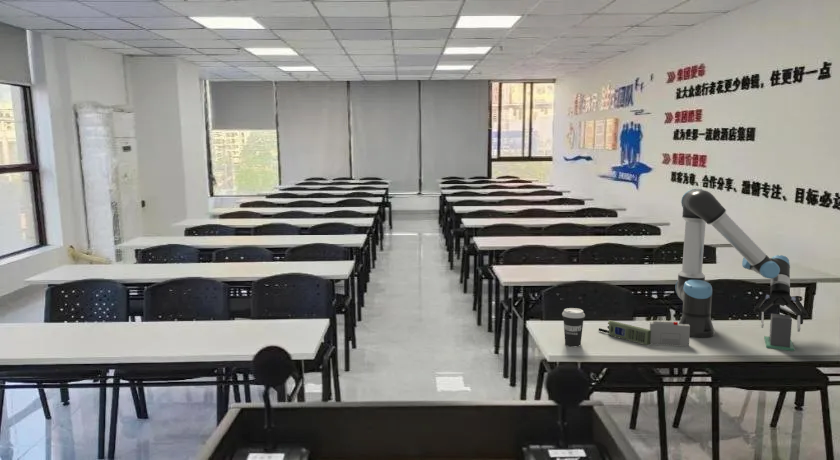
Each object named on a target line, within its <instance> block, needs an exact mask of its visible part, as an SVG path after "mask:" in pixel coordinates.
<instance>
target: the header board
mask: <svg viewBox="0 0 840 460" xmlns="http://www.w3.org/2000/svg"><path fill="white" fill-rule="evenodd" d="M763 339H764V343H765V348H767V349H774V350H783V351H791V352H795V346H794V344H793V341H792V338H791V339H790V347H782V346H773V345H770V342H769V336H766V335H764V337H763Z"/></svg>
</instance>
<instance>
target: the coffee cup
mask: <svg viewBox="0 0 840 460" xmlns="http://www.w3.org/2000/svg"><path fill="white" fill-rule="evenodd" d="M561 315H562V317H563V331H564V332H563V333H564V334H563V335H564V344H565V346H567V345H569V346H568V347H571V346H577V347H580V346H581V345H582V336H583V328H584V319H585V317H586V314H585V313H584V310H583V309H581V308H577V307H575V308H574V307H569V308H568V307H567V308H564V309H563V311H562V313H561ZM579 345H580V346H579Z"/></svg>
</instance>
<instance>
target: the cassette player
mask: <svg viewBox="0 0 840 460" xmlns="http://www.w3.org/2000/svg"><path fill="white" fill-rule="evenodd" d="M649 330H651V339H650V345H657V346H658V345H662V346H675V347H690V337H691V336H690V325H689V324H679V322H678V321H667V320H663V321H662V320H653V322H652V321H651V322H650V321H649Z"/></svg>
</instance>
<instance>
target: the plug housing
mask: <svg viewBox="0 0 840 460" xmlns="http://www.w3.org/2000/svg"><path fill="white" fill-rule="evenodd" d="M792 323H793V319H792V317H791V315H790V314H782V313H781V314H780V313H770V324H769V325H770V326H769V336H768V337H769V342H770V345H773V346H782V347H790V339H791V340H792V338H791V336H792Z"/></svg>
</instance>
